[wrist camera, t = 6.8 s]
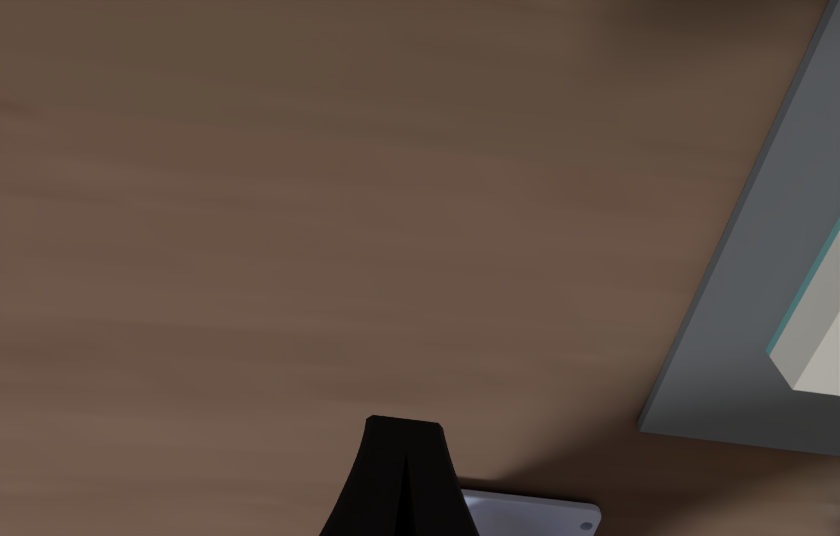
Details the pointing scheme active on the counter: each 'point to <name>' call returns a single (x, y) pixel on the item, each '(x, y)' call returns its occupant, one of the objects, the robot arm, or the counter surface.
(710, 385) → the mat
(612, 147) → the counter surface
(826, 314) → the tile
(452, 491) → the robot arm
